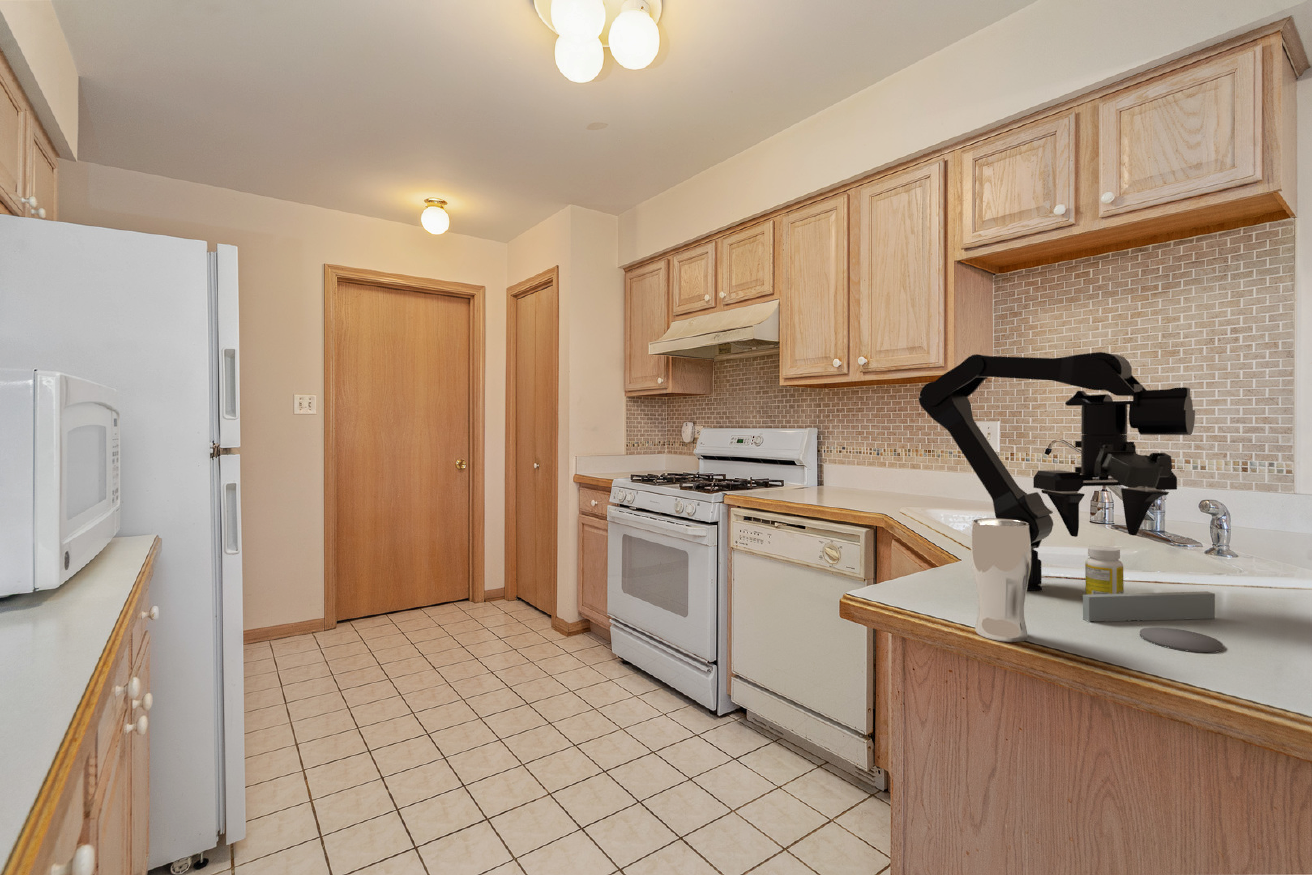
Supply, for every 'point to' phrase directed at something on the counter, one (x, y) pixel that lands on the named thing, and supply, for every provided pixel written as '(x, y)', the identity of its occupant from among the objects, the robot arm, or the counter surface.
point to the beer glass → (1001, 577)
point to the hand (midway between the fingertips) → (1103, 535)
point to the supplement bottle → (1104, 571)
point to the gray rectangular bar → (1149, 606)
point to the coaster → (1181, 639)
